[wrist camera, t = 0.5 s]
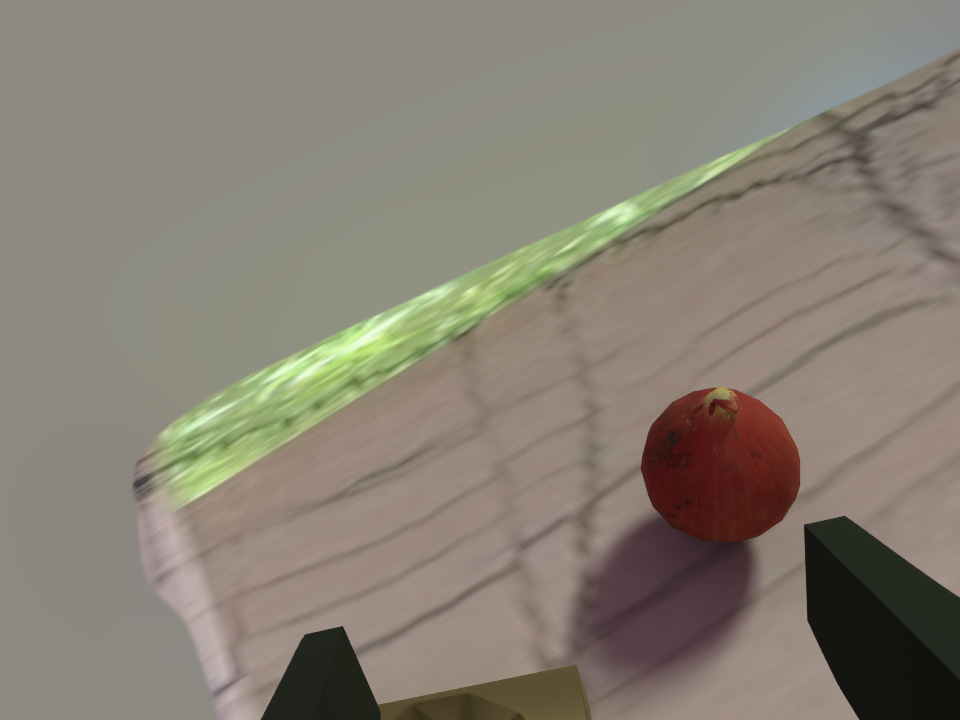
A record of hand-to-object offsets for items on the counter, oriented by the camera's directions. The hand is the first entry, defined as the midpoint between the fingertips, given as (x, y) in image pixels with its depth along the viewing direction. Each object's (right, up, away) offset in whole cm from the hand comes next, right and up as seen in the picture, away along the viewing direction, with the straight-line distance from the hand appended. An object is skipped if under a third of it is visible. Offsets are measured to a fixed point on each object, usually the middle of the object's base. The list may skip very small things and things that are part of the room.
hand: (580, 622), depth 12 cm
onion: (+9, -3, +20) cm, 22 cm away
